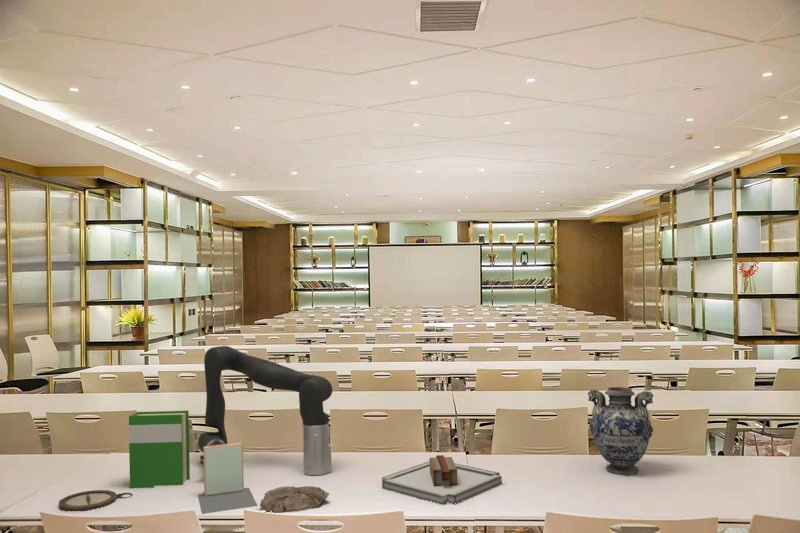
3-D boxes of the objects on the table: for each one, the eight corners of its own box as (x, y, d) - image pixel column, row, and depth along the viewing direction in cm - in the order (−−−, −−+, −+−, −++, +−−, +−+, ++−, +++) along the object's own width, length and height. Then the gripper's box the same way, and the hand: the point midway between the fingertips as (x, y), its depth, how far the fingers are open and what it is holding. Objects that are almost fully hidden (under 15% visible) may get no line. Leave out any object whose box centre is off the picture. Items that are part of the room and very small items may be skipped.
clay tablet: (330, 496, 205) (266, 497, 204) (330, 480, 205) (266, 482, 204) (327, 513, 191) (259, 514, 190) (327, 496, 191) (259, 498, 190)
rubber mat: (248, 489, 213) (248, 487, 213) (257, 507, 195) (257, 505, 195) (197, 496, 207) (197, 494, 207) (201, 515, 190) (201, 513, 190)
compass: (46, 514, 196) (46, 507, 196) (73, 496, 212) (73, 490, 212) (113, 512, 196) (113, 505, 196) (135, 494, 212) (135, 488, 212)
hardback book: (189, 480, 225) (188, 410, 226) (182, 486, 218) (181, 414, 219) (138, 481, 225) (137, 411, 226) (129, 488, 218) (128, 416, 219)
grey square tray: (376, 488, 212) (376, 465, 212) (435, 467, 234) (435, 446, 234) (449, 508, 192) (448, 483, 192) (506, 483, 214) (505, 460, 214)
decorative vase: (586, 475, 218) (584, 391, 219) (592, 461, 235) (590, 383, 236) (655, 481, 210) (652, 394, 211) (656, 466, 227) (653, 385, 228)
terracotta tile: (242, 488, 212) (241, 442, 212) (243, 491, 209) (242, 444, 210) (204, 493, 208) (203, 446, 208) (205, 496, 205) (204, 448, 206)
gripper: (197, 443, 229) (200, 455, 213) (235, 439, 234) (241, 450, 217) (197, 464, 229) (200, 478, 213) (236, 460, 233) (242, 472, 217)
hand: (221, 464), depth 215 cm, fingers closed
